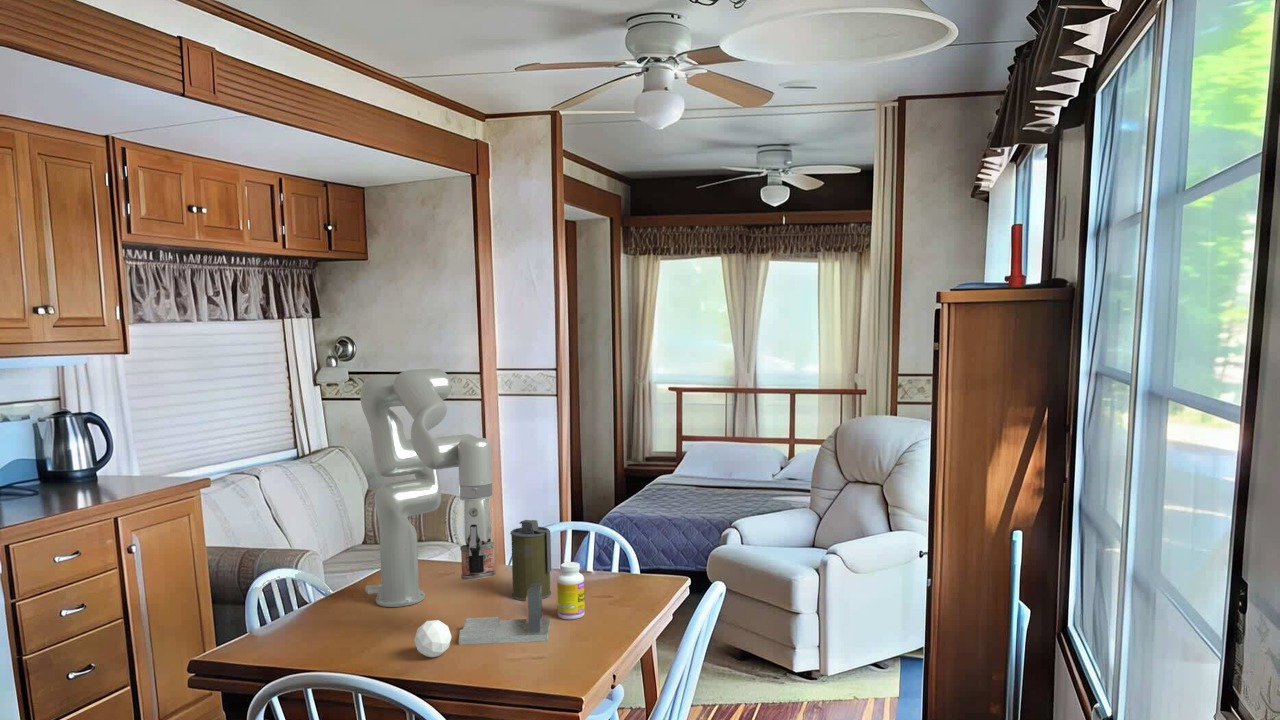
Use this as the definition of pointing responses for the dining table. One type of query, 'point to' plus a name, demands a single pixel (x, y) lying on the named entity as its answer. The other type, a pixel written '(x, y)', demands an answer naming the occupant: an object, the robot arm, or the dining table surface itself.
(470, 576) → the lighter
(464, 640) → the finger rail
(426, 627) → the geometric ball
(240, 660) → the dining table surface
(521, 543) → the canister
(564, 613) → the supplement bottle
